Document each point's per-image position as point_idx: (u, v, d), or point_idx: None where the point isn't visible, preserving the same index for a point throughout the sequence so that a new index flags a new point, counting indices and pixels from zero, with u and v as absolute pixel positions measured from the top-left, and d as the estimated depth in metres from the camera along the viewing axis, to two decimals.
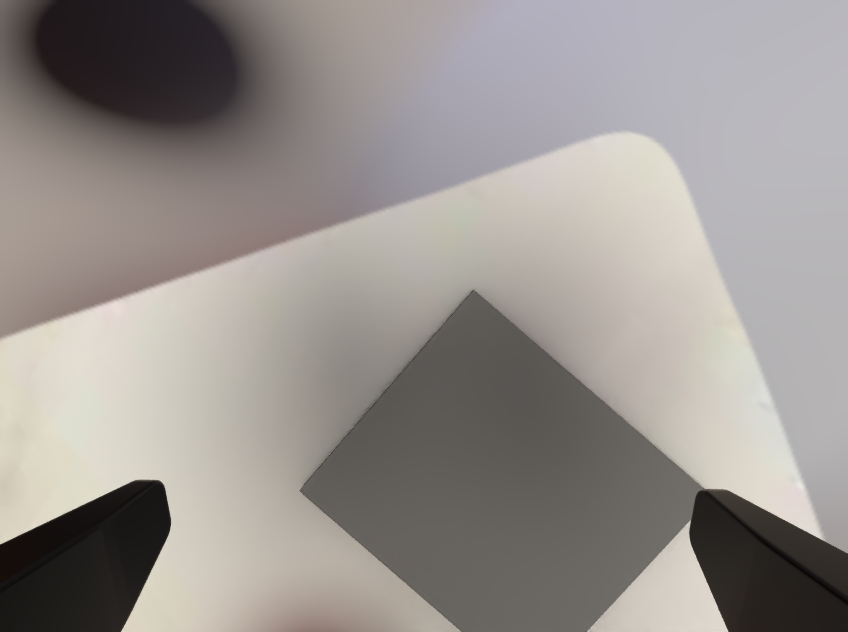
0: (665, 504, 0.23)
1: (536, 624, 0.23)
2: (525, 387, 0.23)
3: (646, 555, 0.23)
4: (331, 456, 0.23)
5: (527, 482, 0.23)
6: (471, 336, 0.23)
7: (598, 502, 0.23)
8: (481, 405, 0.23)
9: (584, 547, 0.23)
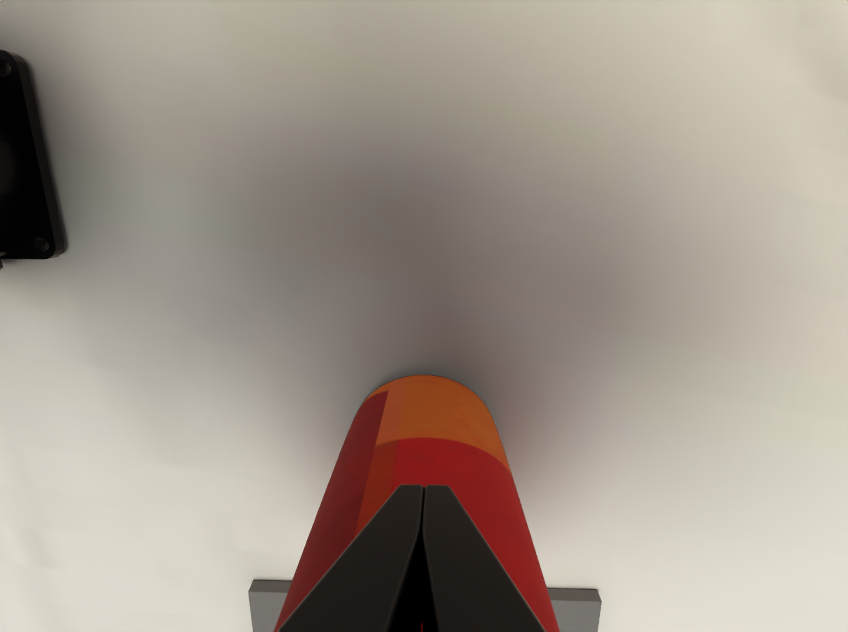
0: None
1: None
2: None
3: None
4: None
5: None
6: None
7: None
8: None
9: None
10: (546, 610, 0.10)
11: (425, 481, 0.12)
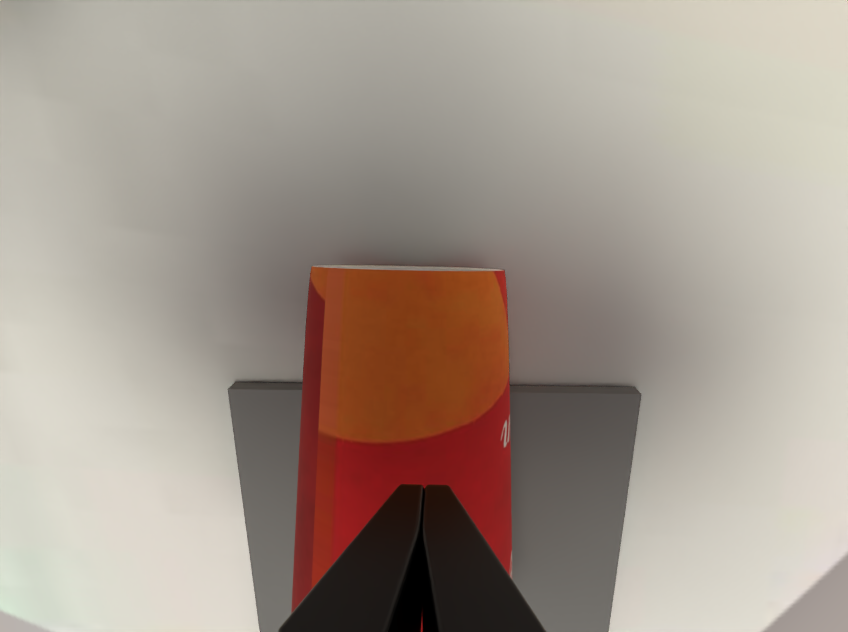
0: None
1: (288, 454, 0.18)
2: None
3: (262, 580, 0.20)
4: (631, 451, 0.18)
5: None
6: None
7: None
8: None
9: None
10: None
11: (362, 517, 0.11)
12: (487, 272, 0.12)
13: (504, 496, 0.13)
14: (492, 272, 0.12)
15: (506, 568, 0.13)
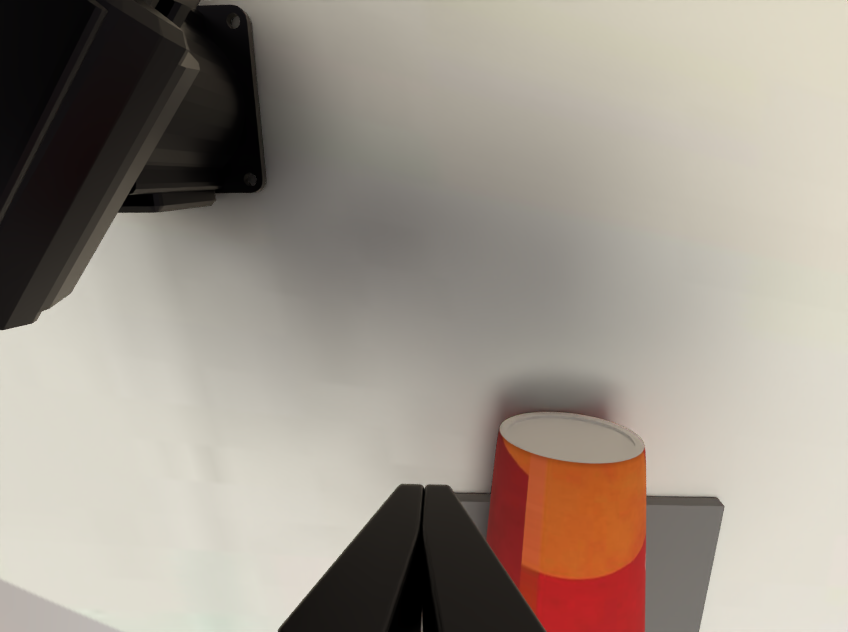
0: None
1: None
2: None
3: None
4: (714, 547, 0.23)
5: None
6: None
7: None
8: None
9: None
10: None
11: (559, 629, 0.17)
12: (640, 454, 0.17)
13: None
14: (642, 452, 0.17)
15: None
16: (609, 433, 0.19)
